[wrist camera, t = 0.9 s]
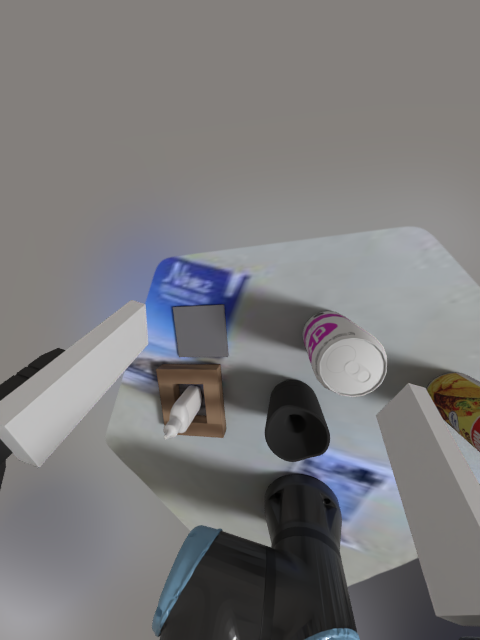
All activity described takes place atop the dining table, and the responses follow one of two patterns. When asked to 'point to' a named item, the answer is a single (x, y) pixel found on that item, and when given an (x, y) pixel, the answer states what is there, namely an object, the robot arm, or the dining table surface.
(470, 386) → the canned food
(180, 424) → the eye dropper bottle
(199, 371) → the bottle holder
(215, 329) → the rubber mat
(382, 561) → the dining table surface
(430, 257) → the dining table surface
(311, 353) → the supplement can
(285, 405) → the pen holder
